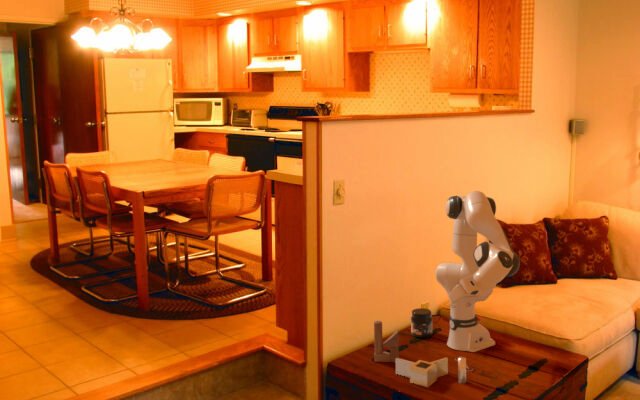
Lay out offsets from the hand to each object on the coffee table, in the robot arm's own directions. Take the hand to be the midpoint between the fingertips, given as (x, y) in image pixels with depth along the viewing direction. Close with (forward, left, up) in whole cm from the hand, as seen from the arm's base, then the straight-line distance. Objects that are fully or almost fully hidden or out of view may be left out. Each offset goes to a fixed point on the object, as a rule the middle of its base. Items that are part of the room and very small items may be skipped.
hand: (459, 306), depth 248 cm
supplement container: (-14, -53, -33) cm, 64 cm away
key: (-12, -15, -33) cm, 39 cm away
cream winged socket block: (+10, -14, -33) cm, 37 cm away
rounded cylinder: (-2, -1, -33) cm, 33 cm away
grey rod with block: (+16, -33, -33) cm, 49 cm away
